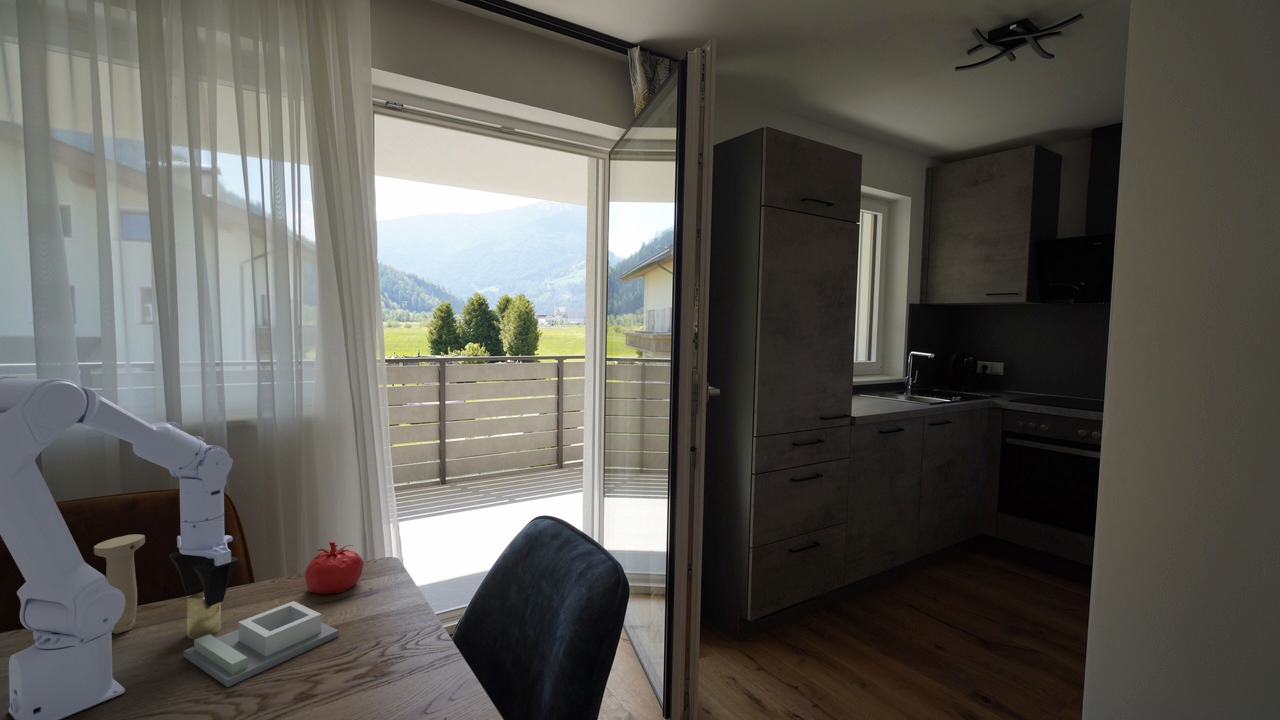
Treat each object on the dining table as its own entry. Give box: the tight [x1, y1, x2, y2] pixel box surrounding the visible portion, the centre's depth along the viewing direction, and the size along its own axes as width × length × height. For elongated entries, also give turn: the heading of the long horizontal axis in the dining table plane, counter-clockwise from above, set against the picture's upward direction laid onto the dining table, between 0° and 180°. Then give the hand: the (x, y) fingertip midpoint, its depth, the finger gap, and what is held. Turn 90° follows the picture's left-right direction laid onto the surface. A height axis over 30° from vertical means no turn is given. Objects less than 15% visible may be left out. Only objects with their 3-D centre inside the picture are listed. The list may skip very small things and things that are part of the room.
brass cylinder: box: [186, 591, 222, 640], centre depth 93 cm, size 4×4×6 cm
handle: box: [93, 533, 146, 635], centre depth 93 cm, size 5×6×15 cm
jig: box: [183, 600, 339, 688], centre depth 89 cm, size 16×14×4 cm
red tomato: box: [304, 540, 364, 595], centre depth 110 cm, size 10×10×9 cm
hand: (204, 597), depth 93 cm, fingers open, 7 cm apart
